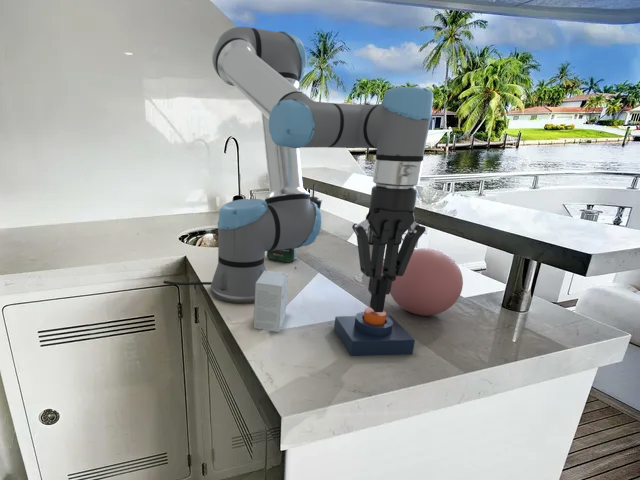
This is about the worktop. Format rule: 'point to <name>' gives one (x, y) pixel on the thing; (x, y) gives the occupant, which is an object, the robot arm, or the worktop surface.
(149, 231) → the worktop surface
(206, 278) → the worktop surface
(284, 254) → the coffee jar
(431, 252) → the balloon
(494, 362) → the worktop surface
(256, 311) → the small box
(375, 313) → the orange button cap
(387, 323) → the push button
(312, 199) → the drinking cup
